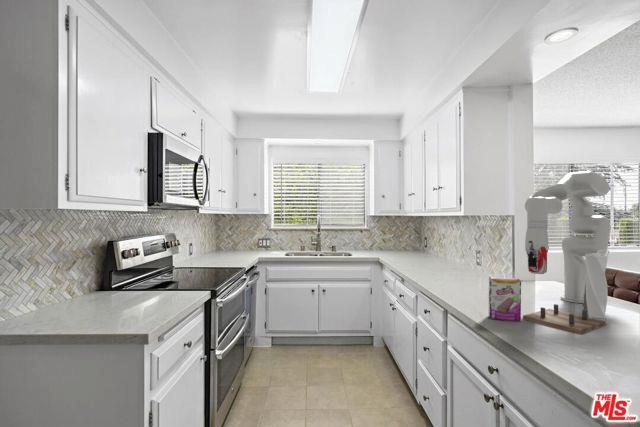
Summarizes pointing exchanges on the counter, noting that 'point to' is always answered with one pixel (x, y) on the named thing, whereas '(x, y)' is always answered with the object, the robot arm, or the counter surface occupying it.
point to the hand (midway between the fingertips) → (537, 265)
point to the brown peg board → (565, 320)
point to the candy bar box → (505, 298)
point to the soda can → (540, 262)
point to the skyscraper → (596, 285)
